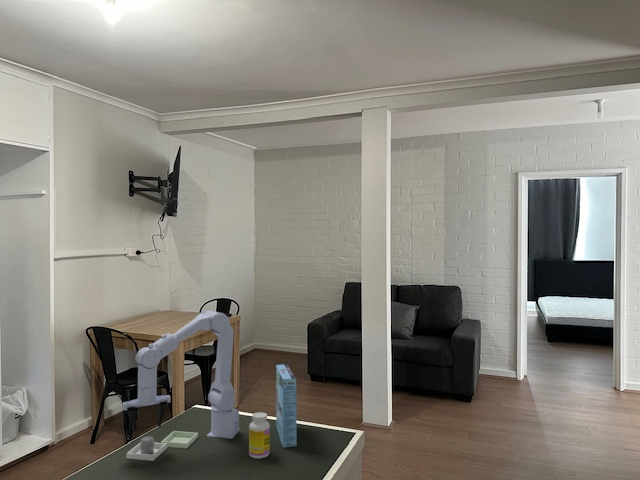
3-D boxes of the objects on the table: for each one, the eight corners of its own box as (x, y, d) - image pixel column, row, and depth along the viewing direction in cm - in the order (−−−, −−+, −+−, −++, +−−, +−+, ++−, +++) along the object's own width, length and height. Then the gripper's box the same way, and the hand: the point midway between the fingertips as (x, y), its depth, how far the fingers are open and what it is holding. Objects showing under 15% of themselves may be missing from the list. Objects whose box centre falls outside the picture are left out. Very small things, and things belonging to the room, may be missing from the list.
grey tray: (166, 449, 157) (166, 443, 157) (153, 461, 148) (153, 455, 148) (141, 447, 158) (141, 441, 158) (126, 459, 149) (126, 453, 149)
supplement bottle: (265, 460, 150) (266, 419, 150) (245, 458, 151) (246, 417, 151) (272, 451, 156) (272, 412, 156) (253, 449, 157) (253, 410, 158)
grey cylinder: (156, 451, 155) (156, 436, 155) (149, 456, 151) (149, 441, 151) (144, 450, 155) (144, 435, 155) (138, 455, 151) (138, 441, 151)
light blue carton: (296, 447, 160) (297, 378, 160) (281, 448, 159) (281, 379, 159) (288, 425, 179) (289, 363, 179) (275, 426, 178) (275, 364, 178)
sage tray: (197, 438, 166) (198, 432, 166) (186, 449, 157) (186, 443, 157) (173, 436, 167) (173, 431, 167) (161, 447, 158) (161, 441, 158)
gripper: (126, 392, 146) (125, 437, 146) (173, 385, 154) (173, 427, 154) (121, 386, 152) (120, 429, 152) (167, 380, 160) (166, 420, 160)
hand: (146, 428), depth 153 cm, fingers open, 7 cm apart
